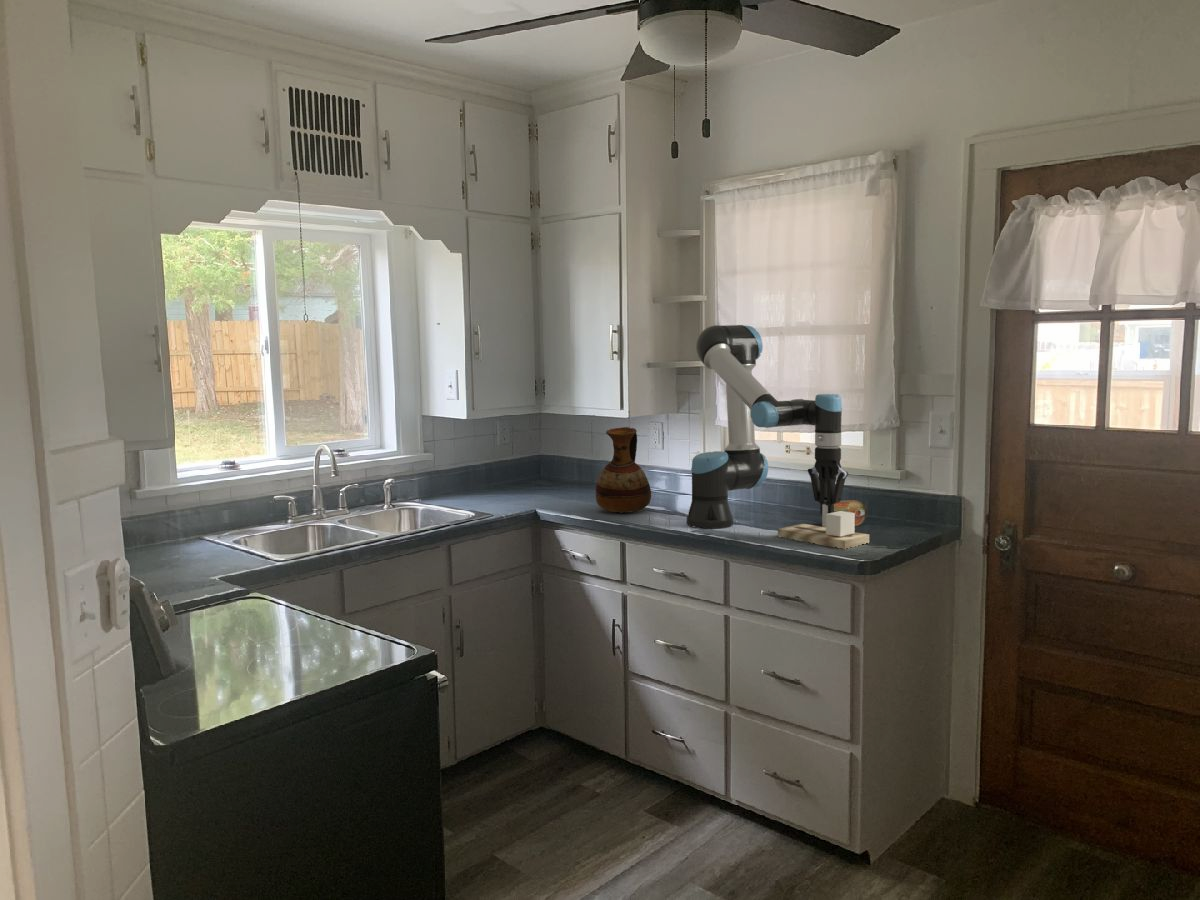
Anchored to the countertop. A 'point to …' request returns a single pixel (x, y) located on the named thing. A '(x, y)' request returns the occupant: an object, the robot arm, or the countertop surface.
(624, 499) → the ceramic pitcher
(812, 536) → the beige flat block
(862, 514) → the tin
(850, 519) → the fader tab
